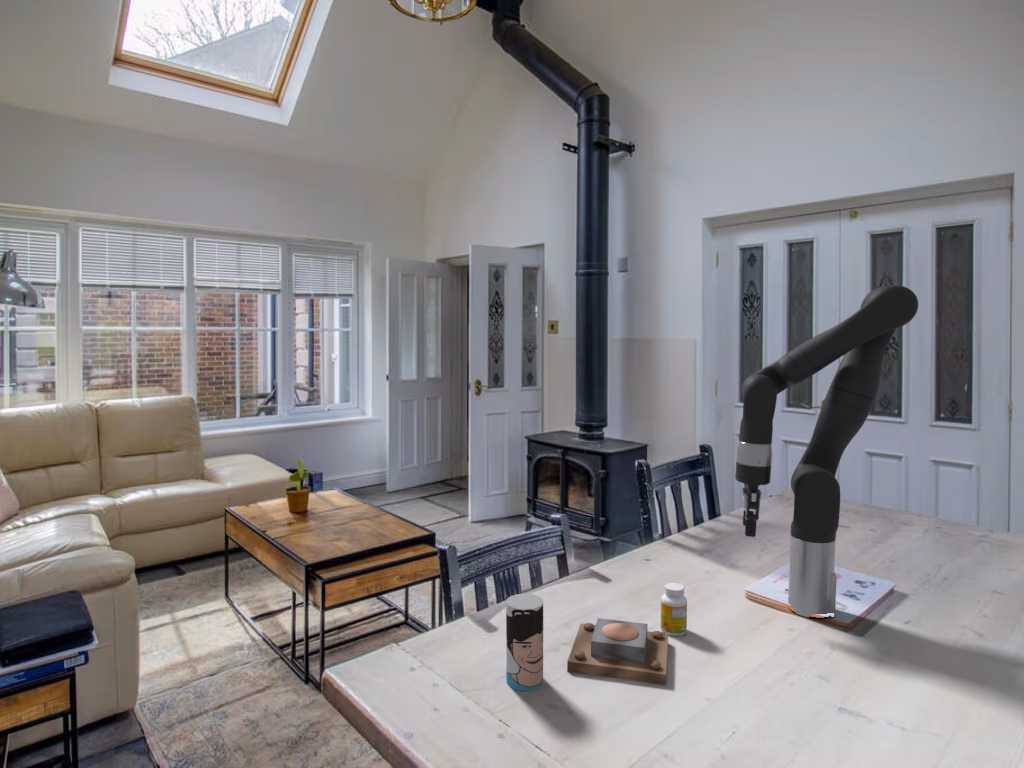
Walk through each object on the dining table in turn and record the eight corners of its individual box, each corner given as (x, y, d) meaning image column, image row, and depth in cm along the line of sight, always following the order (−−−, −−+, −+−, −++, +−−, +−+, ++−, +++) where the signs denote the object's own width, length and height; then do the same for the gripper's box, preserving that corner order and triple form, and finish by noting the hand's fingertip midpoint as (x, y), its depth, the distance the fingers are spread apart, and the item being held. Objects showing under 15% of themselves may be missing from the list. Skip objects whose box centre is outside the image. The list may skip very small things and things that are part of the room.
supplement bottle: (657, 625, 138) (657, 581, 137) (681, 624, 139) (682, 581, 138) (665, 637, 133) (666, 592, 132) (690, 636, 133) (691, 591, 132)
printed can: (510, 693, 112) (510, 611, 111) (502, 673, 119) (502, 595, 118) (547, 688, 114) (547, 607, 113) (537, 668, 120) (537, 592, 119)
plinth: (667, 643, 130) (668, 618, 130) (665, 685, 115) (666, 657, 114) (580, 632, 135) (580, 608, 134) (567, 671, 119) (567, 644, 119)
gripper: (774, 469, 138) (769, 542, 139) (768, 457, 151) (763, 524, 152) (737, 465, 140) (732, 537, 141) (735, 454, 153) (730, 520, 155)
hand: (748, 530), depth 147 cm, fingers open, 8 cm apart
